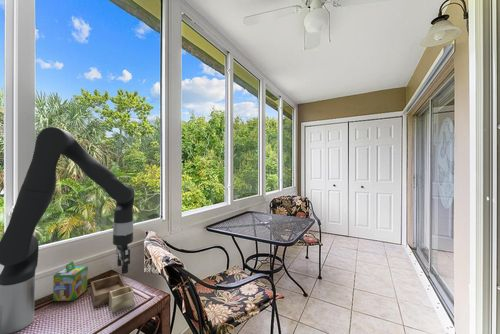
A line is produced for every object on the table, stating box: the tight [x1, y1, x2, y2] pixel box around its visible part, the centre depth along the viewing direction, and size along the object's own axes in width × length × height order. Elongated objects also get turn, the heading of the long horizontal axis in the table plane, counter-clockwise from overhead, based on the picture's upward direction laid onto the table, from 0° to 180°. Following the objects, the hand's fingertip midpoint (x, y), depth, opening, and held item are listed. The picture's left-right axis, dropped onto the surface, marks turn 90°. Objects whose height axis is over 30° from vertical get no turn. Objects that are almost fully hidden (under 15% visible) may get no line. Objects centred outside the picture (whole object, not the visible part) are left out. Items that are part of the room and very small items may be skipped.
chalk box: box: [52, 260, 89, 302], centre depth 99 cm, size 9×9×15 cm
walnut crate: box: [90, 274, 127, 309], centre depth 101 cm, size 12×14×5 cm
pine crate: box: [108, 285, 135, 314], centre depth 94 cm, size 8×6×6 cm
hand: (122, 269), depth 93 cm, fingers open, 8 cm apart
